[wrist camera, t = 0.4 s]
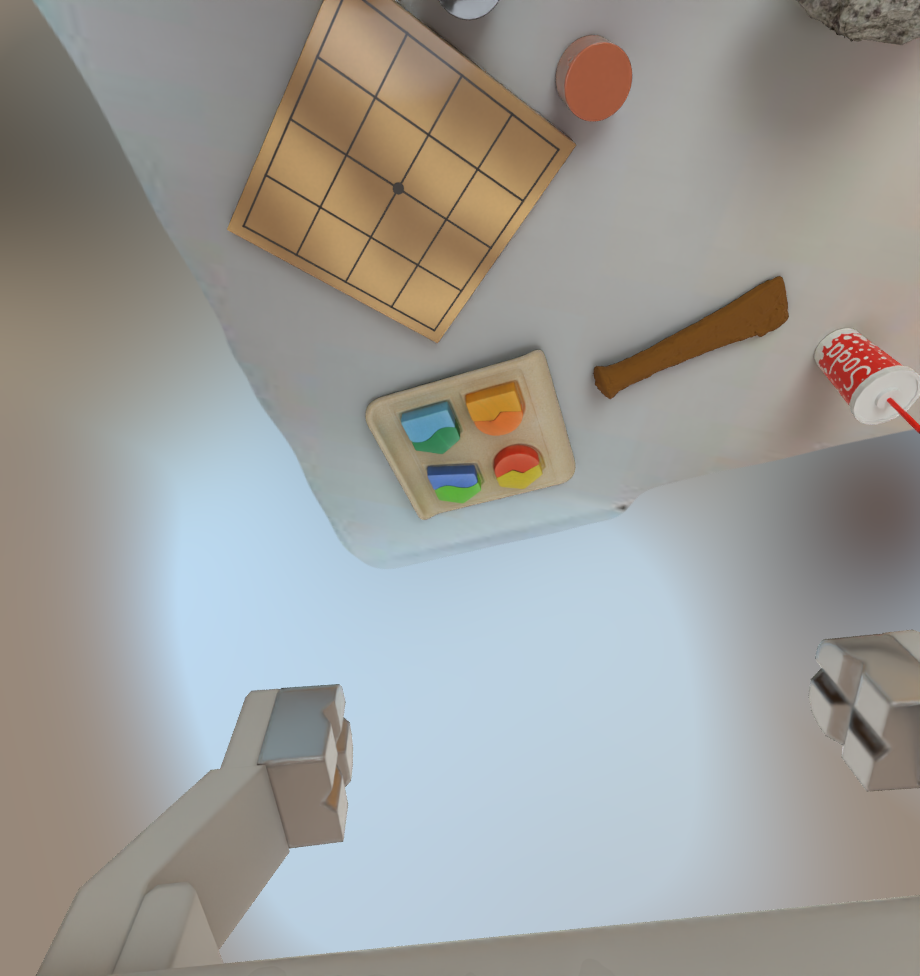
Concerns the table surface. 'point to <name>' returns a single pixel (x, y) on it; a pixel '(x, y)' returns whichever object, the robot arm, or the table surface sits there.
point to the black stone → (468, 8)
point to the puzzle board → (475, 436)
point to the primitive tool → (702, 336)
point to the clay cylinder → (593, 78)
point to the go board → (395, 166)
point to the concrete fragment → (868, 18)
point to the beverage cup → (868, 378)
